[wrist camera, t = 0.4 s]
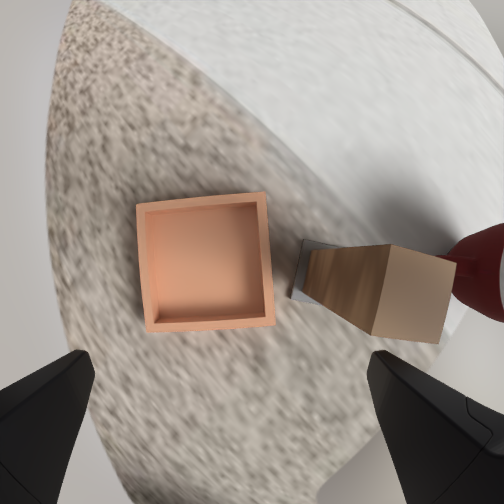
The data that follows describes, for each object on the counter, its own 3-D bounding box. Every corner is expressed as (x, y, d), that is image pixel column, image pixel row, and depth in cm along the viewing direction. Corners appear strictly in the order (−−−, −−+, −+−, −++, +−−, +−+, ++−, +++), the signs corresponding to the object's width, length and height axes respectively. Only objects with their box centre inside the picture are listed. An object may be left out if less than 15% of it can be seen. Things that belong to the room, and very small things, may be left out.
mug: (404, 315, 25) (471, 339, 15) (404, 228, 25) (475, 215, 15) (479, 304, 25) (544, 317, 15) (479, 230, 26) (547, 222, 16)
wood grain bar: (345, 309, 25) (445, 361, 11) (290, 298, 25) (347, 351, 10) (357, 252, 25) (470, 249, 11) (303, 239, 25) (377, 219, 10)
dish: (272, 318, 25) (275, 325, 22) (155, 325, 25) (146, 332, 22) (263, 197, 25) (265, 191, 22) (145, 208, 25) (136, 204, 22)
